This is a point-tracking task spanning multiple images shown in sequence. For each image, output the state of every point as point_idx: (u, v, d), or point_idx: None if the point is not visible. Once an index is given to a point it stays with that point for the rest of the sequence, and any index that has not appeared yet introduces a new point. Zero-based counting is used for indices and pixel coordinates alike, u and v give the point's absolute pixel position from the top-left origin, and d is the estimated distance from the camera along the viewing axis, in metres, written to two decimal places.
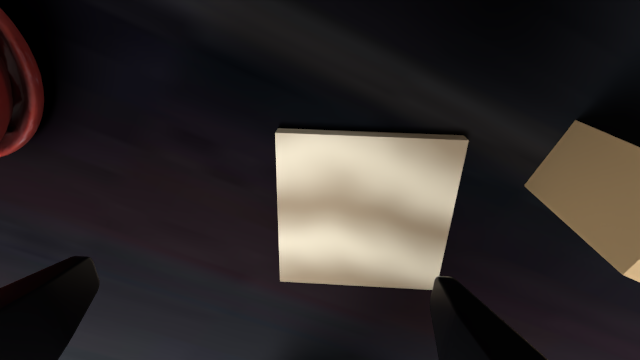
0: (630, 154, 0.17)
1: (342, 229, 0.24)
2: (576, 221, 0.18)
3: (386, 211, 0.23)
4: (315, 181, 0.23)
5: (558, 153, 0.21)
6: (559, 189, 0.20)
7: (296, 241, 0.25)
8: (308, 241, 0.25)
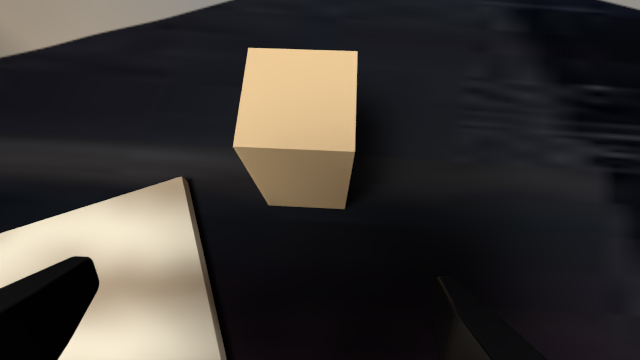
0: None
1: None
2: None
3: (123, 279, 0.20)
4: None
5: None
6: None
7: None
8: None
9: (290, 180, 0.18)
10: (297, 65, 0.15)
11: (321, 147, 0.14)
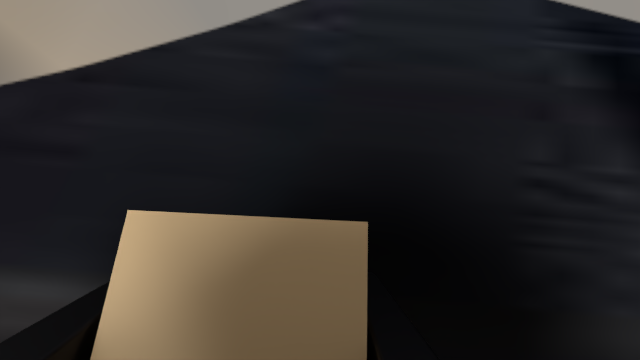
0: None
1: None
2: None
3: None
4: None
5: None
6: None
7: None
8: None
9: None
10: (232, 259, 0.07)
11: None
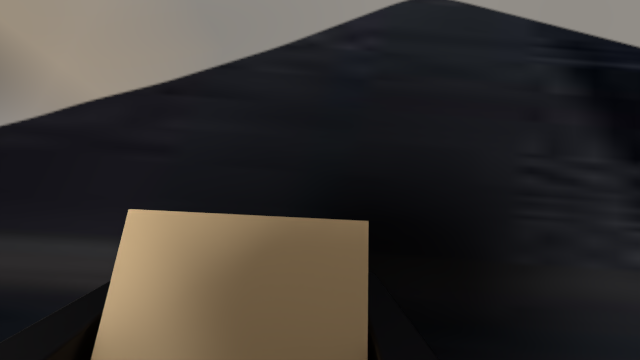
0: None
1: None
2: None
3: None
4: None
5: None
6: None
7: None
8: None
9: None
10: (233, 258, 0.07)
11: None
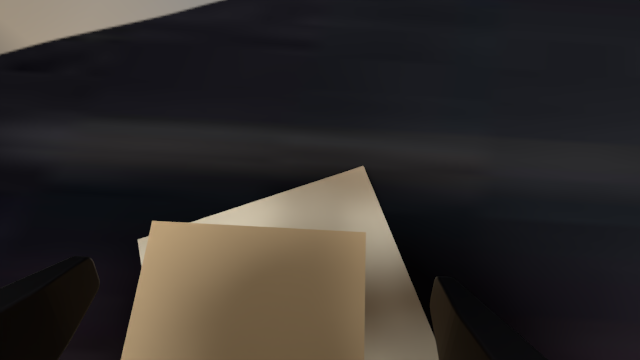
0: None
1: None
2: None
3: None
4: None
5: None
6: None
7: None
8: None
9: None
10: (245, 264, 0.08)
11: None
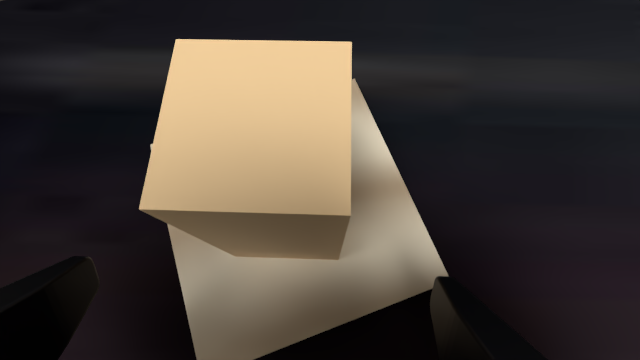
0: None
1: None
2: None
3: None
4: None
5: None
6: None
7: (209, 283, 0.16)
8: (227, 275, 0.16)
9: (254, 239, 0.12)
10: (254, 66, 0.09)
11: (291, 208, 0.08)
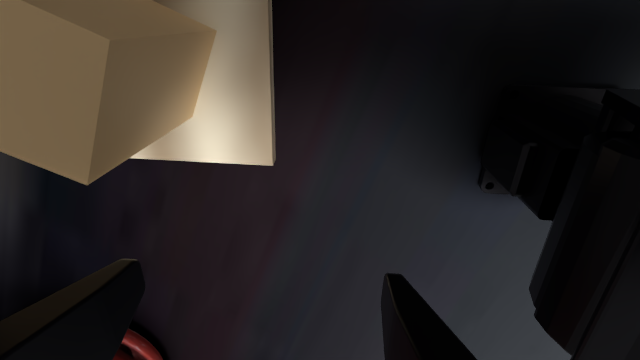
0: None
1: None
2: None
3: None
4: None
5: None
6: None
7: (208, 142, 0.20)
8: (205, 127, 0.20)
9: (156, 106, 0.14)
10: None
11: (98, 83, 0.10)
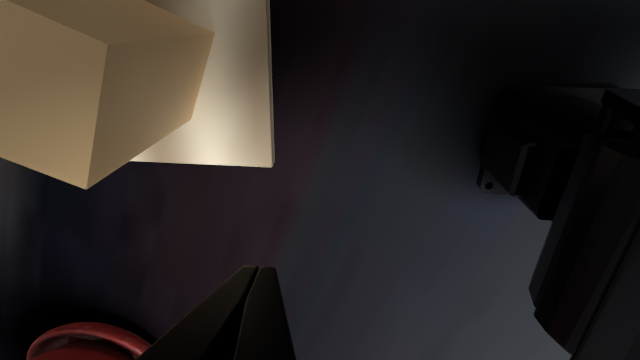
0: None
1: None
2: None
3: None
4: None
5: None
6: None
7: (207, 144, 0.20)
8: (204, 129, 0.20)
9: (154, 109, 0.14)
10: None
11: (96, 88, 0.10)
